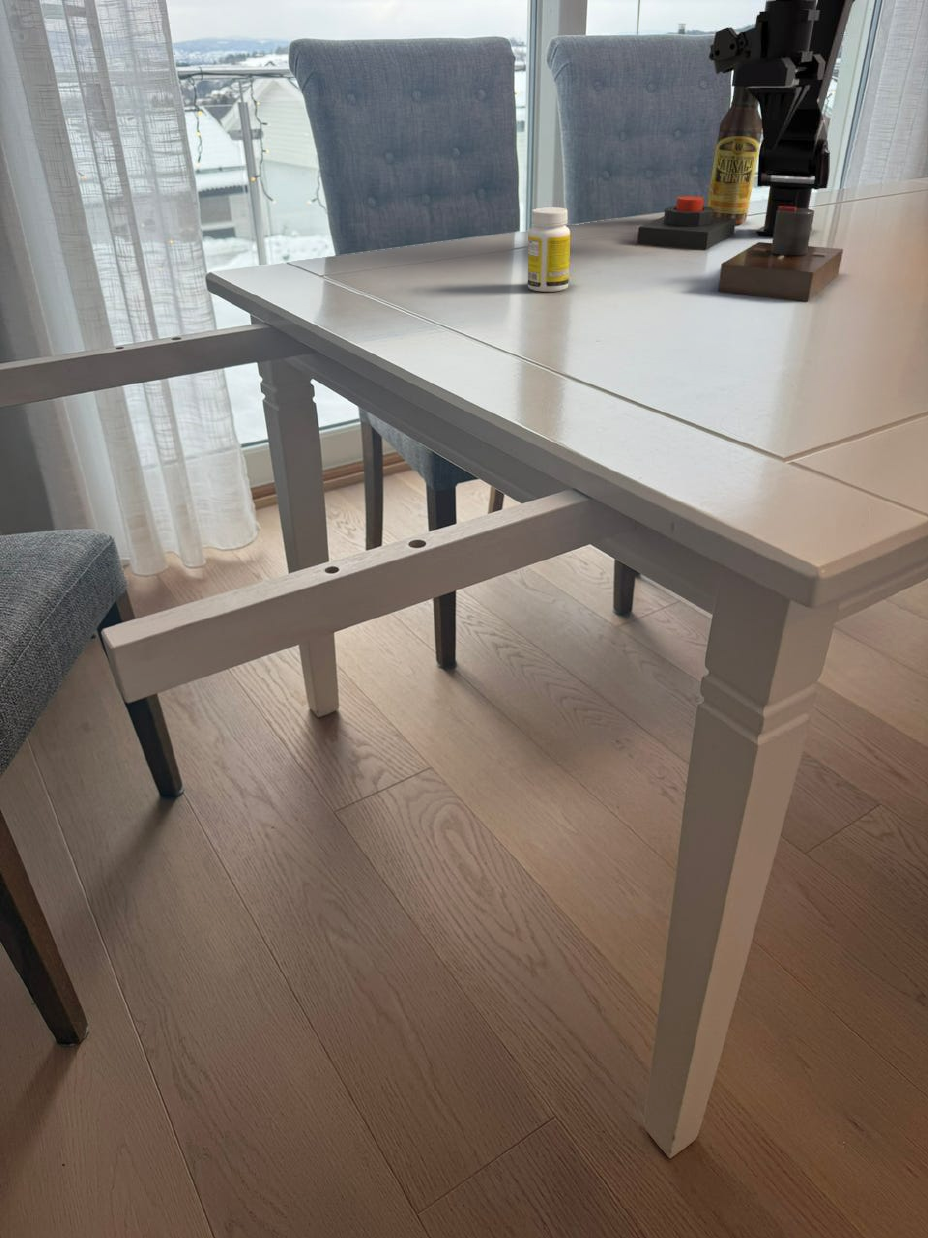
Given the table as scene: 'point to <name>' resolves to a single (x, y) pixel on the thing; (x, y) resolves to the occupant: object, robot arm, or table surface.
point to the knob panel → (780, 272)
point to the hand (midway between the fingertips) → (769, 149)
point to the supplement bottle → (548, 250)
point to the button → (689, 203)
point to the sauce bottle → (736, 158)
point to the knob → (792, 231)
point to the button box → (686, 229)
